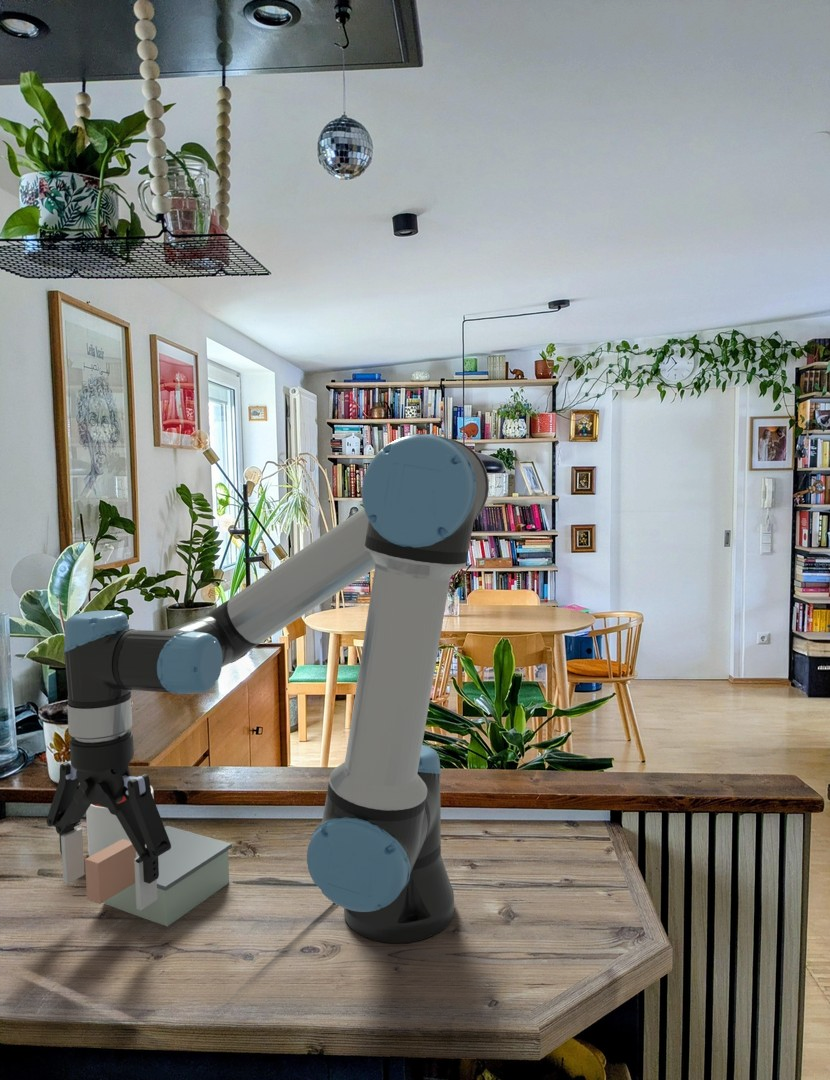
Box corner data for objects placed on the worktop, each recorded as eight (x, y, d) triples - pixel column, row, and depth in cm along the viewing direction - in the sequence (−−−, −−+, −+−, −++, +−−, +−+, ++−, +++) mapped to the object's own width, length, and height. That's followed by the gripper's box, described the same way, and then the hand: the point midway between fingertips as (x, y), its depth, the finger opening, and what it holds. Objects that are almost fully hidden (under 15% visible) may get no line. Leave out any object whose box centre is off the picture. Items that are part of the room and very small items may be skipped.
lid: (232, 852, 110) (230, 811, 110) (129, 921, 94) (127, 873, 93) (167, 834, 116) (165, 795, 116) (60, 895, 100) (57, 850, 99)
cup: (133, 873, 115) (130, 810, 114) (74, 867, 117) (71, 805, 116) (167, 842, 125) (165, 783, 124) (113, 837, 127) (110, 779, 126)
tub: (229, 887, 111) (228, 848, 110) (167, 932, 100) (165, 888, 99) (169, 868, 116) (167, 831, 116) (104, 908, 106) (102, 867, 105)
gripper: (195, 738, 94) (202, 900, 96) (61, 711, 106) (69, 856, 108) (149, 758, 88) (157, 932, 90) (11, 727, 99) (21, 882, 101)
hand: (109, 891), depth 99 cm, fingers open, 13 cm apart
